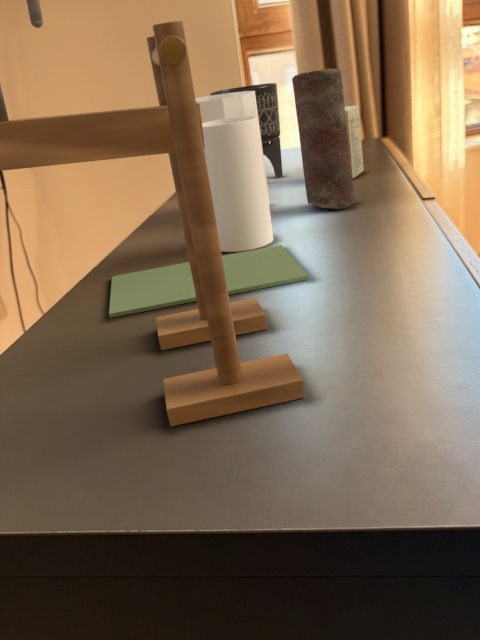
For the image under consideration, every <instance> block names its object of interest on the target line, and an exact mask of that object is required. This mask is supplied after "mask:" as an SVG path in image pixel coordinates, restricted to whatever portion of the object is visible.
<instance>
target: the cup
mask: <svg viewBox="0 0 480 640" xmlns="http://www.w3.org/2000/svg"><path fill="white" fill-rule="evenodd" d="M202 126H203V135H204V144H205V149H204V152H205V158H206V164H207V170H208V176H209V182H210V188H211V194H212V200H213V206H214V212H215V218H216V224H217V229H218V235H219V241H220V247H221V252H226V253H239V252H245V251H250V250H256V249H260V248H263V247H265V246H268V245H269V244H271V243H272V242H273V241H274V231H273V224H272V223H273V222H272V217H271V208H270V206H269V201H270V199H269V200H268V194H269V192H268V193H267V186H268V184H267V185H266V179H267V177H266V178H265V171H266V169H265V170H264V164H265V162H264V163H263V156H264V154H263V155H262V148H261V141H260V133H259V126H258V119H257V116H244V117H235V118H227V119H221V120H215V121H210V122H205V123H202Z"/></svg>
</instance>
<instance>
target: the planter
mask: <svg viewBox="0 0 480 640" xmlns="http://www.w3.org/2000/svg"><path fill="white" fill-rule="evenodd" d="M243 91H255V96H256V103H257V111H258V118H259V126H260V133H261V141H262V149H263V156H265V158H267V159H268V160H269V162H270V164H271V166H272V168H273V172H274V176H275V177H276V178H281V177H283V163H282V162H283V161H282V148H281V137H280V136H281V123H280V122H281V121H280V112H279V111H280V110H279V98H278V97H279V96H278V84H277V83H276V82H269V83H259V84H252V85H244V86H238V87H233V88H232V87H231V88H226V89H222V90H216V91H212V92H210V93H209V96H212V95H219V94H226V93H234V92H243Z"/></svg>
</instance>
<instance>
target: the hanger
mask: <svg viewBox="0 0 480 640" xmlns="http://www.w3.org/2000/svg"><path fill="white" fill-rule="evenodd" d="M25 1H26V6H27V10H28V16H29V22H30V24H31V26H32V27H34V28H35V29H40V28H42V27H43V25H44V19H43V14H42V8H41V3H40V0H25ZM196 105H197V111H198V117H199V123H200V129H201V135H202V140H203V146H204V149H205V144H204V135H203V126H202V117H201V108H200V104H199V103H196ZM175 152H176V150H175V144H174V139H173V134H172V128H171V123H170V118H169V112H168V107H167V105H165V106H159V105H154V106H146V107H134V108H123V109H114V110H113V109H112V110H103V111H102V110H101V111H92V112H82V113H69V114H61V115H48V116H39V117H27V118H17V119H9V115H8V111H7V107H6V101H5V98H4V93H3V88H2V85H1V83H0V172H4V171H11V170H21V169H22V170H23V169H31V168H32V169H33V168H40V167H51V166H59V165H61V166H62V165H69V164H77V163H79V164H80V163H87V162H89V163H90V162H97V161H98V162H99V161H107V160H108V161H109V160H117V159H126V158H136V157H145V156H155V155H163V154H169V153H175Z"/></svg>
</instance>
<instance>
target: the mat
mask: <svg viewBox="0 0 480 640" xmlns="http://www.w3.org/2000/svg"><path fill="white" fill-rule="evenodd" d="M222 259H223V265H224V271H225V277H226V283H227V289H228V295H229V296H231V295H235V294H241V293H245V292H250V291H256V290H261V289H266V288H271V287H276V286H281V285H286V284H292V283H296V282H301V281H307V280H309V279H310V278H309V274H308V273H307V272H306V271H305V270H304V269H303V268H302V266H301V265H300V264H299V263H298V262H297V260H295V259H294V258H293V256H291V254H290V253H289V252H288V251H287V249H285V247H284V246H283V245H282V244H278V245H273V246H268V247H267V246H266V247H260V248H256V249H252V250H246V251H239V252H233V253H230V254H224V255H222ZM110 283H111V284H110V295H109V308H108V316H109V318H110V319H113V318H116V317H122V316H127V315H132V314H137V313H143V312H149V311H154V310H157V309H158V310H159V309H163V308H168V307H173V306H178V305H184V304H189V303H195V302H197V300H196V294H195V289H194V284H193V279H192V273H191V268H190V263H189V261H186V262H181V263H177V264H176V263H175V264H171V265H165V266H160V267H155V268H150V269H143V270H139V271H138V270H137V271H135V272H127V273H124V274H123V273H122V274H118V275H112V276H111V282H110Z"/></svg>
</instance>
